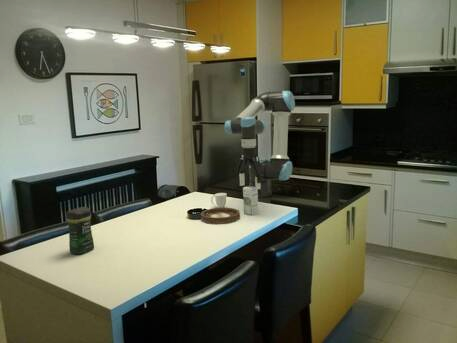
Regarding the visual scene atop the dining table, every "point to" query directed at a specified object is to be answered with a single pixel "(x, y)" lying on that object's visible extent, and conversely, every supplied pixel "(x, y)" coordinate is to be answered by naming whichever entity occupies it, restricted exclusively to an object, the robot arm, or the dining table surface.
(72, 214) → the coffee jar
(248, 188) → the syrup box
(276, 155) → the robot arm
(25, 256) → the dining table surface
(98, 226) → the dining table surface
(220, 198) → the cup
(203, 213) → the round tray
